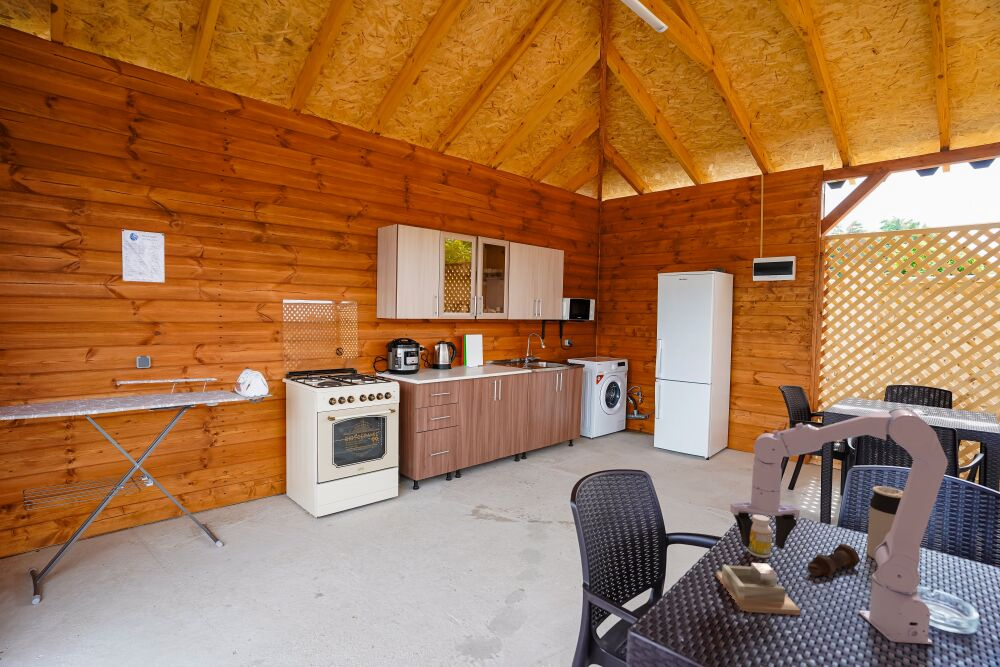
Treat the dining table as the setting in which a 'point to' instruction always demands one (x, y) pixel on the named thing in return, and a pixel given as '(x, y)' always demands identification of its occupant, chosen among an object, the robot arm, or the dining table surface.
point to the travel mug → (881, 515)
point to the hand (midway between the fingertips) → (762, 546)
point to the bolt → (834, 561)
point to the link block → (762, 574)
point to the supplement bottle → (760, 537)
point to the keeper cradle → (755, 592)
